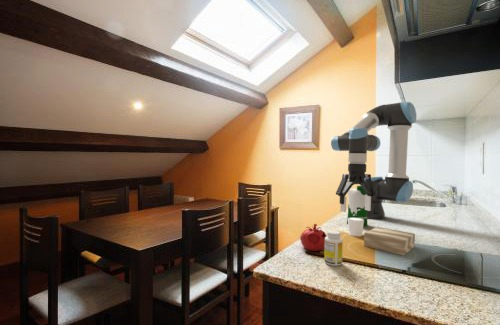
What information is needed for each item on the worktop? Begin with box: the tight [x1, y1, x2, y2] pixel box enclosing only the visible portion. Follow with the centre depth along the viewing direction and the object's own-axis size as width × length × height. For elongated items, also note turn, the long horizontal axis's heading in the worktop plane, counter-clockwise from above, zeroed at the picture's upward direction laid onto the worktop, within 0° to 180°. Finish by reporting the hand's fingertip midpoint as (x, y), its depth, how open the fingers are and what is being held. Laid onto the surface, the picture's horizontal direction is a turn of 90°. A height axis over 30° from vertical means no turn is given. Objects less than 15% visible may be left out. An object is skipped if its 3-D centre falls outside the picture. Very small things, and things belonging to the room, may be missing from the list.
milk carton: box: [346, 185, 368, 227], centre depth 140 cm, size 9×9×20 cm
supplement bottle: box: [323, 229, 344, 267], centre depth 89 cm, size 6×6×10 cm
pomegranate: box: [299, 223, 327, 252], centre depth 103 cm, size 10×10×9 cm
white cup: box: [347, 217, 364, 237], centre depth 122 cm, size 7×7×7 cm
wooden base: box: [363, 226, 416, 256], centre depth 107 cm, size 14×14×5 cm
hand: (355, 211), depth 122 cm, fingers open, 13 cm apart
